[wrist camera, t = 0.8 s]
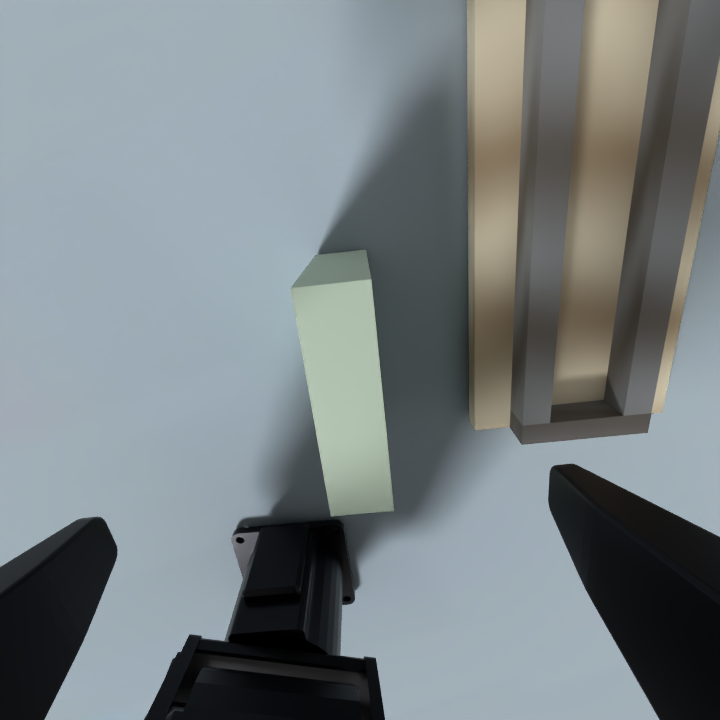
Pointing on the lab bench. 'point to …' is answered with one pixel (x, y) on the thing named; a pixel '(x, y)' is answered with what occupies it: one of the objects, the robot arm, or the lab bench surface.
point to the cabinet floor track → (583, 206)
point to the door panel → (344, 380)
